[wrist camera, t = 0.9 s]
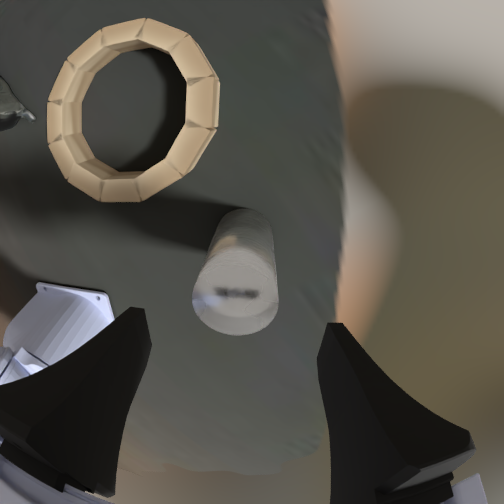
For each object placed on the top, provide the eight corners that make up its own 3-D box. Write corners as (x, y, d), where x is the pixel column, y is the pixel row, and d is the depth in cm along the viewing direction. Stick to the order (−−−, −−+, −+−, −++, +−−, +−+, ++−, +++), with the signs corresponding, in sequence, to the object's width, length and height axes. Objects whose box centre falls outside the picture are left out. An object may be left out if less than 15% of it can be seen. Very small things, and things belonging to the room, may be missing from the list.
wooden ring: (71, 193, 19) (53, 203, 16) (71, 49, 13) (52, 45, 11) (216, 193, 19) (210, 203, 16) (224, 22, 13) (218, 9, 11)
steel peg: (216, 258, 21) (195, 331, 14) (216, 206, 19) (189, 262, 12) (270, 261, 21) (274, 337, 14) (274, 210, 19) (282, 268, 12)
